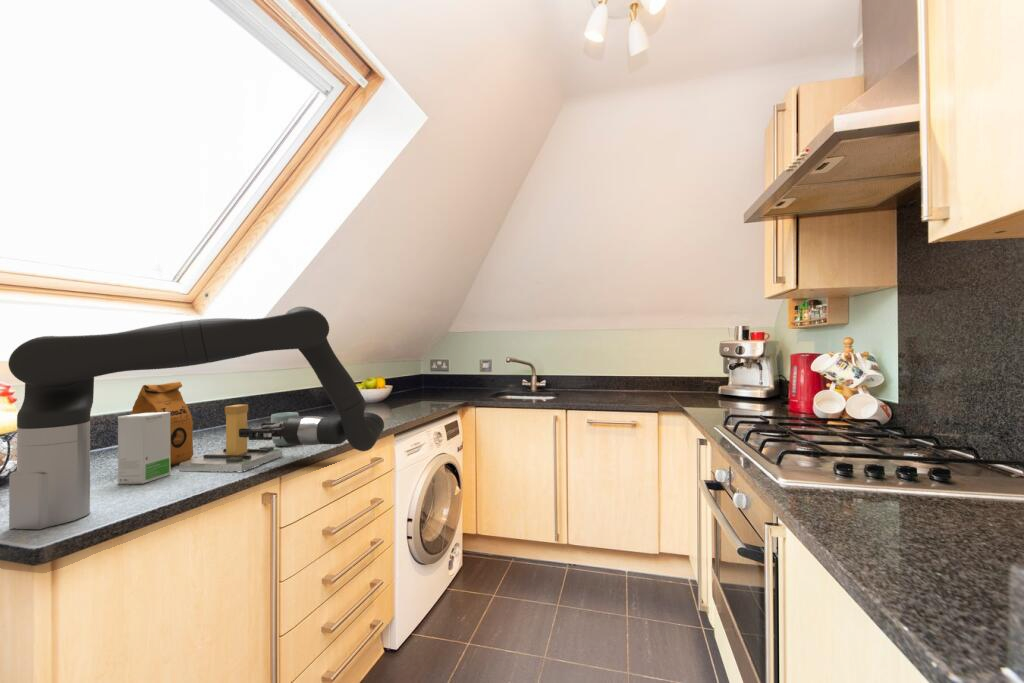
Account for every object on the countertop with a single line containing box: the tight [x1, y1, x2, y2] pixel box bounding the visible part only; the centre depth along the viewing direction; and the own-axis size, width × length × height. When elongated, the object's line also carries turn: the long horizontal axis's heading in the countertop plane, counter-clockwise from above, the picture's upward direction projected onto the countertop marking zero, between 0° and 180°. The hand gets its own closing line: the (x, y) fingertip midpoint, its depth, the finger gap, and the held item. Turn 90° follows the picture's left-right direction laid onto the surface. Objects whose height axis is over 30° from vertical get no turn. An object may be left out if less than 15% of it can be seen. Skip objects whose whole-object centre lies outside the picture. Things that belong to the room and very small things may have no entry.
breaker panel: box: [179, 446, 283, 473], centre depth 118 cm, size 16×17×3 cm
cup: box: [270, 411, 300, 447], centre depth 140 cm, size 8×8×10 cm
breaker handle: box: [224, 404, 249, 455], centre depth 119 cm, size 4×3×13 cm
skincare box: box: [117, 412, 172, 485], centre depth 104 cm, size 8×7×16 cm
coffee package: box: [131, 381, 194, 466], centre depth 117 cm, size 10×12×22 cm
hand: (251, 429), depth 118 cm, fingers open, 8 cm apart
